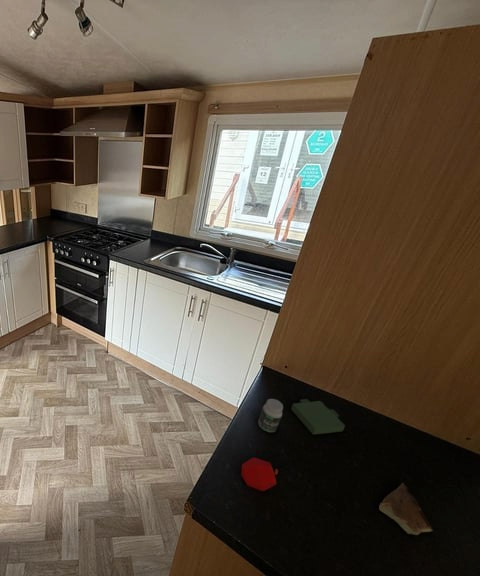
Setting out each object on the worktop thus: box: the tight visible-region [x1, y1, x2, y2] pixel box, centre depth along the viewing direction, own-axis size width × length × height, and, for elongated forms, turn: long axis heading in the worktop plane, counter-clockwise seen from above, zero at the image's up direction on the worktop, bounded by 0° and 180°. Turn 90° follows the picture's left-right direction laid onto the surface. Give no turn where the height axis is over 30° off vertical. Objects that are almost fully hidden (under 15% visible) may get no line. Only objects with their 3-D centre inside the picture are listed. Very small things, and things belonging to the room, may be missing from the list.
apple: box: [240, 457, 279, 492], centre depth 72 cm, size 7×7×8 cm
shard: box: [378, 481, 434, 536], centre depth 67 cm, size 11×8×2 cm
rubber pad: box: [290, 398, 346, 435], centre depth 90 cm, size 10×10×2 cm
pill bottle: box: [258, 398, 284, 433], centre depth 86 cm, size 5×5×8 cm
